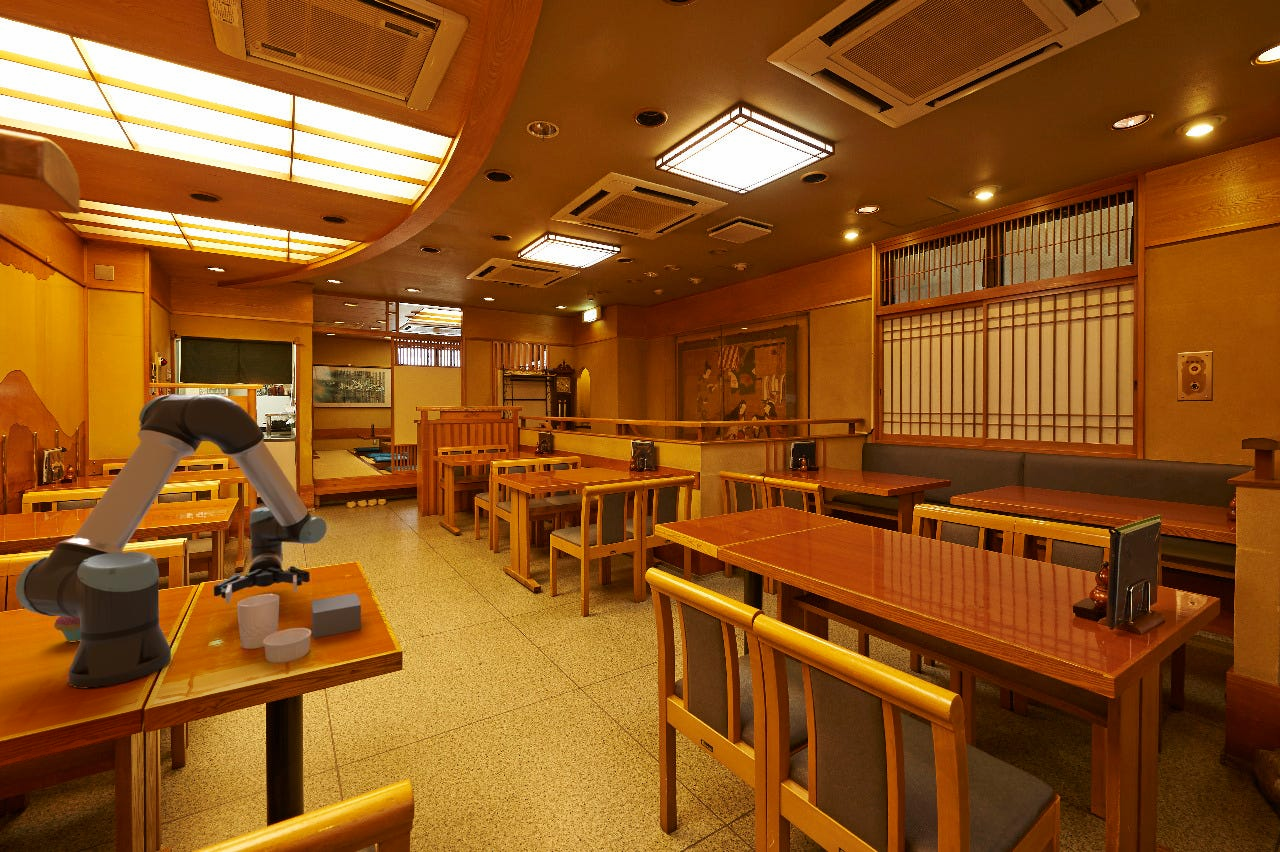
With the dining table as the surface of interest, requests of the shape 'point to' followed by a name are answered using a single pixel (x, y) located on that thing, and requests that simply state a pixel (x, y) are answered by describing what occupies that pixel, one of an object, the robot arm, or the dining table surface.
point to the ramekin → (287, 645)
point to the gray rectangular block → (336, 615)
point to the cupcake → (69, 627)
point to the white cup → (257, 619)
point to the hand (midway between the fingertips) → (262, 592)
